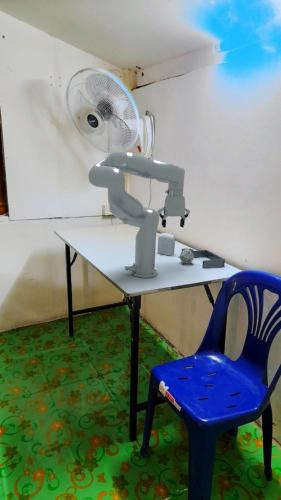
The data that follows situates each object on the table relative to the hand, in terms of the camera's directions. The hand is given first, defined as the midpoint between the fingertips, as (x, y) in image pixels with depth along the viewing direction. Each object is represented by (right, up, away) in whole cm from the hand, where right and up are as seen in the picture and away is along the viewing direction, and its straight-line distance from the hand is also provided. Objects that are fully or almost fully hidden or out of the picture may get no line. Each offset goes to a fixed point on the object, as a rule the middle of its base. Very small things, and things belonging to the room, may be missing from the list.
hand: (172, 227), depth 165 cm
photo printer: (-2, -14, +25) cm, 29 cm away
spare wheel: (+11, -14, +27) cm, 32 cm away
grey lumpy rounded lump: (+8, -19, +9) cm, 23 cm away
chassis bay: (+18, -18, +12) cm, 29 cm away
